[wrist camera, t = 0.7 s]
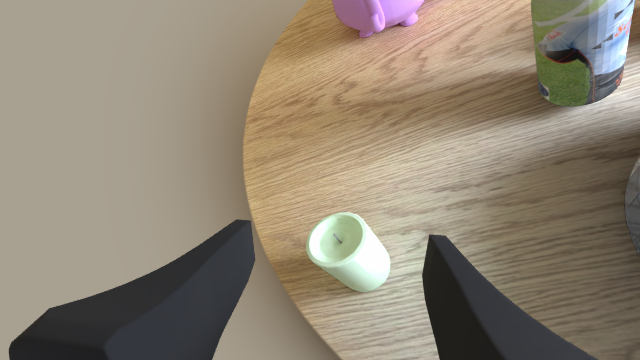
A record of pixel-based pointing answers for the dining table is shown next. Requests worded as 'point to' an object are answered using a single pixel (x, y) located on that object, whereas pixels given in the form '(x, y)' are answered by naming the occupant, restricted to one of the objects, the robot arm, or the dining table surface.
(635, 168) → the bowl
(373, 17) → the teapot
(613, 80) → the beverage can
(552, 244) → the dining table surface
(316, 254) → the candle
